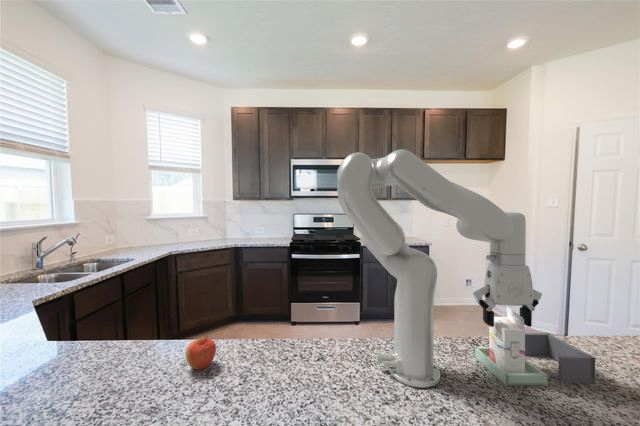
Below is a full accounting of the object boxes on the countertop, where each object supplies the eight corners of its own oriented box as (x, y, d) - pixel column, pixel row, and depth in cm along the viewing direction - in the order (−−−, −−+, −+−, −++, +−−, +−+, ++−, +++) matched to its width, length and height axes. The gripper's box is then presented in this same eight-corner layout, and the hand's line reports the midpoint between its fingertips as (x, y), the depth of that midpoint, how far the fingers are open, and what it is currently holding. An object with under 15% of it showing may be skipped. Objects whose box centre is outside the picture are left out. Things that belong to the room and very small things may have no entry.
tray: (505, 385, 63) (505, 375, 62) (473, 355, 76) (473, 347, 75) (547, 385, 63) (547, 375, 63) (507, 355, 76) (507, 346, 76)
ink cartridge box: (487, 357, 74) (487, 304, 74) (507, 358, 73) (507, 305, 73) (503, 376, 65) (504, 317, 65) (526, 378, 64) (526, 318, 64)
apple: (183, 365, 71) (182, 336, 71) (211, 356, 76) (211, 328, 76) (189, 379, 65) (189, 347, 65) (219, 368, 70) (219, 338, 70)
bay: (562, 382, 64) (562, 358, 64) (520, 353, 77) (520, 333, 77) (595, 382, 64) (595, 357, 64) (548, 353, 77) (548, 332, 77)
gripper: (483, 262, 65) (483, 331, 65) (552, 262, 65) (552, 330, 65) (466, 257, 73) (466, 318, 73) (528, 256, 73) (528, 318, 73)
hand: (507, 324), depth 69 cm, fingers open, 9 cm apart
